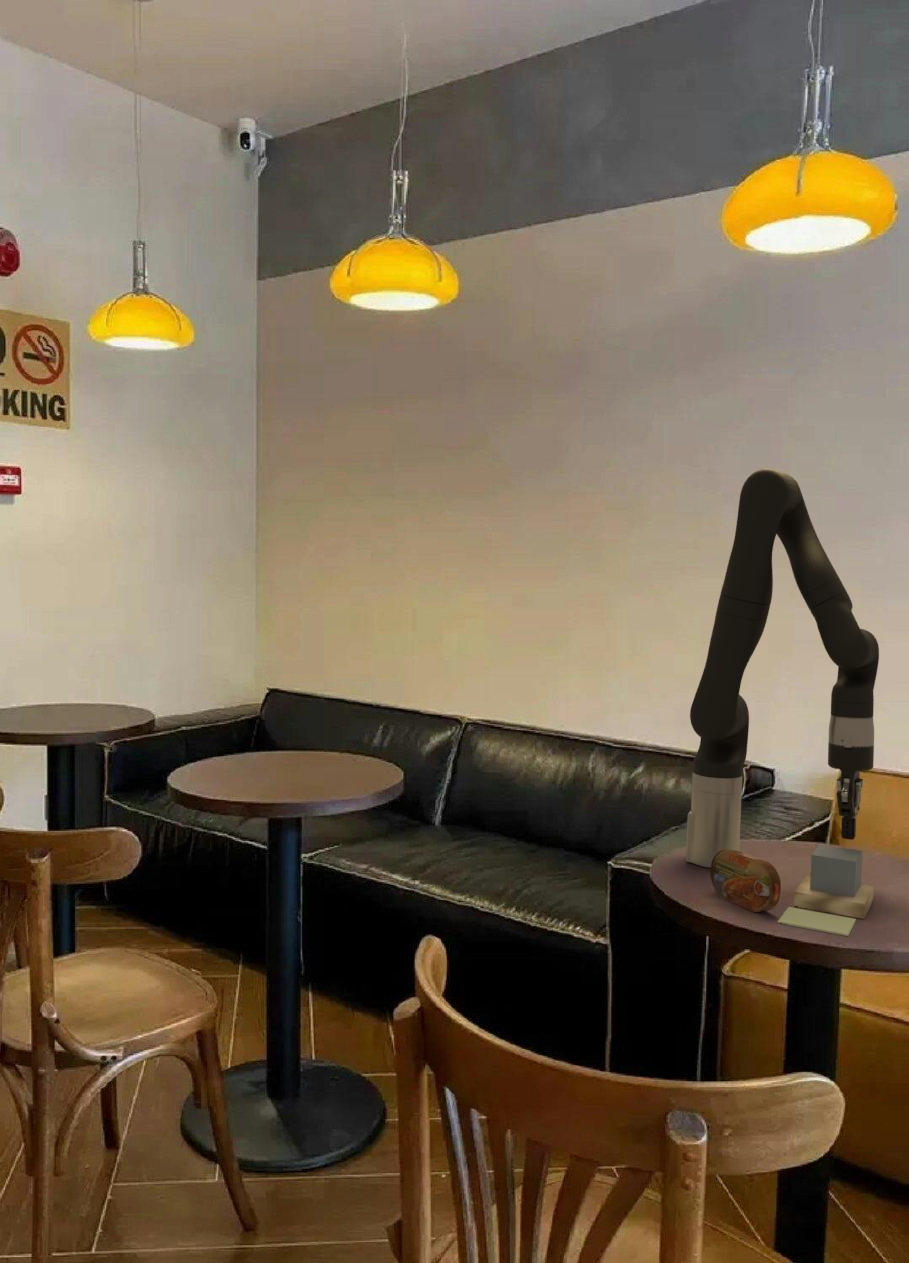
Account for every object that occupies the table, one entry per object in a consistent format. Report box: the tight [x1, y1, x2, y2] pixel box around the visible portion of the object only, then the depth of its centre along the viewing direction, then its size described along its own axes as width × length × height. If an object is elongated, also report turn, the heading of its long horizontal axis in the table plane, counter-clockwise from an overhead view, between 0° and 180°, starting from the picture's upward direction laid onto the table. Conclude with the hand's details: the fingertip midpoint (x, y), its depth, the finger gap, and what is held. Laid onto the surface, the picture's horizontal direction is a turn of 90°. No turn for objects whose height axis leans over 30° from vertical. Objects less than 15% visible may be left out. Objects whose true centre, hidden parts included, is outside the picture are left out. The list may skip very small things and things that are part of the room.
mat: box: [777, 906, 857, 937], centre depth 161 cm, size 10×8×1 cm
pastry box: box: [810, 844, 864, 897], centre depth 171 cm, size 7×8×6 cm
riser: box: [793, 875, 875, 920], centre depth 170 cm, size 11×11×2 cm
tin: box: [709, 850, 782, 913], centre depth 169 cm, size 15×3×8 cm, turn 24°
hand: (848, 838), depth 179 cm, fingers closed
